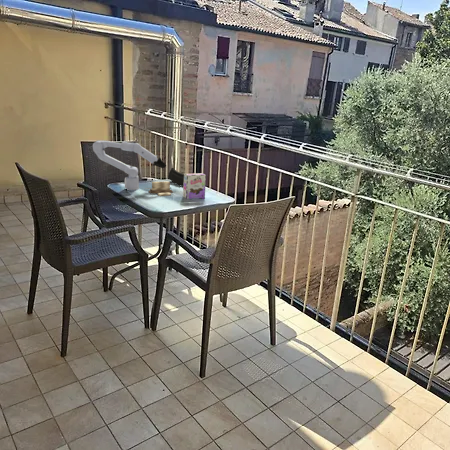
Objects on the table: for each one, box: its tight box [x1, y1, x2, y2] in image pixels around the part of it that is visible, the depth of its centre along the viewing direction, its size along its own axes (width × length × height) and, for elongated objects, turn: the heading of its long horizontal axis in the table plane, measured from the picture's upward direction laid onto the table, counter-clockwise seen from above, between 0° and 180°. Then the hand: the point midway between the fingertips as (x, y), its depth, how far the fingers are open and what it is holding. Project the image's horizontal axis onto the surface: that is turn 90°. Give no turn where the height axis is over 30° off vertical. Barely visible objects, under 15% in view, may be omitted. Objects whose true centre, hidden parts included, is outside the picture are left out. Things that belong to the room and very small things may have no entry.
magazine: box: [167, 167, 185, 187], centre depth 312 cm, size 17×3×30 cm
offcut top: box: [157, 192, 172, 197], centre depth 276 cm, size 8×4×1 cm, turn 120°
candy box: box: [182, 172, 207, 200], centre depth 274 cm, size 14×6×16 cm, turn 117°
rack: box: [148, 189, 174, 194], centre depth 283 cm, size 16×5×2 cm, turn 114°
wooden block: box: [151, 180, 171, 190], centre depth 283 cm, size 12×2×8 cm, turn 114°
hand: (164, 167), depth 287 cm, fingers open, 7 cm apart
